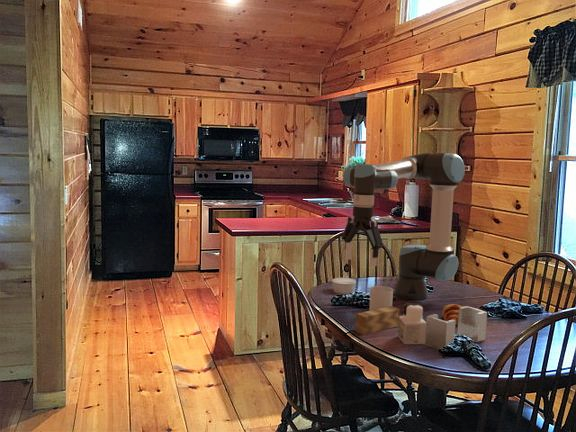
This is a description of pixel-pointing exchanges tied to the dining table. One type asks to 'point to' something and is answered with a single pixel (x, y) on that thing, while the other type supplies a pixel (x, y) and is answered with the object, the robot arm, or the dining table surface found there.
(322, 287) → the dining table surface
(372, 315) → the rail
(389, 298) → the mug
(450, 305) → the croissant
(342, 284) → the ramekin
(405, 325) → the container
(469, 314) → the brackets
